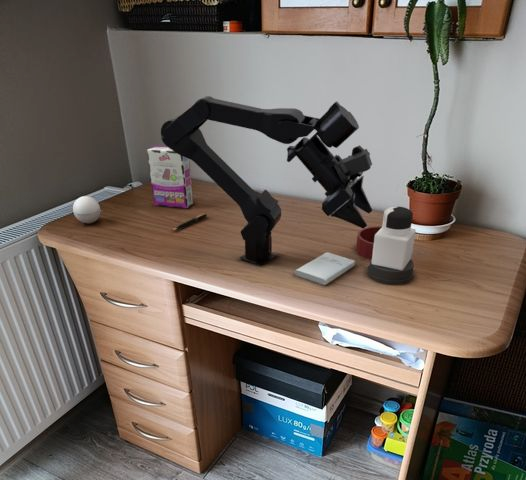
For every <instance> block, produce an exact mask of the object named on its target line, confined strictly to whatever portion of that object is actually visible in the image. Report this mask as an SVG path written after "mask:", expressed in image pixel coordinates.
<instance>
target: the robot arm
mask: <svg viewBox="0 0 526 480" xmlns="http://www.w3.org/2000/svg"><path fill="white" fill-rule="evenodd" d="M207 121H211V122H216V123H221V124H226V125H230V126H235V127H240V128H243V129H244V128H245V129H248V130H253V131H257V132H259V133H261V134H263V135H265V136H266V137H268V138H269V139H272V140H274V141H276V142H278V143H281V144H283V145H289V146H288V147H287V148H286V151H287V155H286V157H287V158H286V162H287V163H290V162H291V161H293V159H294V158H297V159H298V160H299V161H300V163H302V165H303V166H304V167H305V168H306V170H307V171H308V172H309V173H310V174H311V175H312V178H311V180H312V181H313V182H314V183H316V182H317V183H318V184H319V185H320V186H321V187H322V188H323V189H324V191H325V193H324V196H325V197H324V200H323V201H322V203H321V211H322V212H323V213H324V214H325V216H326V217H329V216H330V217H331V218H337V219H340V220H343V221H345V222H346V223H349V224H351V225H354V226H356V227H358V228H361V229H364V228H367V227H368V224H367V221H366V220H365V218H364V217H363V215H362V214H361V212H360V210H361V211H364V212H365V213H366V214H370V213H372V211H373V208H372V206H371V204H370V200H369V199H368V196H367V194H366V192H365V190H364V188H363V184H364V183H363V182H364V175H363V174H364V173H365V172H367V171H369V170H370V169H371V168H372V165H373V162H372V159H371V156H370V155H371V153H370V151H369V150H368V149H367V148H365V149H364V148H363V147H362V146H361V145H360V144H359V145H357V146H355V147H353V148H352V150H351V155H348V156H347V157H344V158H342V157H341V156H340V155H339V154H338V155H337V154H335V155H334V154H333V153H332V152H331V151H330V149H331V148H336V149H338V148H339V147H340V146H341V145H342V144H344V142H345V141H347V140H348V139H349V138H350V137H351V136H352V135H353V134H354V133H356V132H357V130H358V129H359V128H360V126H359V123H358V121H357V120H356V118H355V116H354V115H353V114H352V112H351V111H349V110H347V109H346V107H344V106H343V105H341V104H340V102H339V101H335V102H333V103H332V105H330V107H329V108H328V110H327V111H326V112H324V114H323V115H322V116H321V117H320V118H319V117H315V116H309V115H305V114H304V113H303V111H302V110H300V109H298V108H294V107H293V108H287V107H285V108H283V107H282V108H281V107H279V108H261V107H256V106H251V105H247V104H241V103H237V102H232V101H227V100H222V99H218V98H214V97H213V96H210V95H209V96H208V95H206V96H204V97H201V98H199V99H197V100H196V101H195V102H194V103H193V104H192V105H191V106H190V107H189V108H187V110H185V111H184V112H183V113H181V114H180V115H178V116H175V117H174V118H171V119H168V120H167V121H164V123H163V124H162V126H161V128H160V136H161V137H160V139H161V141H162V143H163V144H164V145H165V147H169V148H170V149H172V150H173V151H174V152H176V153H177V154H179V155H181V156H184V157H186V158H188V159H189V160H190V161H192V162H193V163H195V165H196V166H198V168H200V169H201V170H202V171H203V172H204V173H205V174H206V175H207V176H208V177H209V178H210V180H212V181H213V182H214V183H215V184H216V185H217V186H218V187H219V188H221V190H222V191H223V192H224V193H226V194H227V196H229V197H230V199H231V200H233V201H234V203H236V204H237V205H238V206H239V208H240V210H241V213H242V215H243V217H244V220H245V221H246V222H247V223H246V225H245V226H243V228H241V230H240V235H241V238H242V240H243V241H244V255H242V256H240V261H244V262H247V263H250V264H253V265H256V266H260V267H262V266H264V265H266V264H267V263H269V262H270V261H272V260H274V259H276V258H277V254H275V253H273V250H272V248H273V247H272V242H273V237H272V231H273V229H274V228H275V227H276V225H277V224H278V223H279V221H280V220H281V219H282V208H281V206H280V204H278V203H279V202H280V201H279V200H278V199H276V198H274V197H273V195H271V193H270V192H269V191H268V190H267V189H264V190H263V191H262V192H259V191H257V190H254V189H253V188H252V187H251V186H250V185H249V184H248V183H247V182H246V181H245V180H243V178H242V177H241V176H240V175H239V174H238V173H237V172H236V171H234V169H233V168H232V167H230V166H229V165H228V164H227V163H226V161H225V160H224V159H222V158H221V157H220V155H218V153H216V152H215V151H214V150H213V149H212V148H211V146H209V145H208V143H207V141H206V139H205V137H204V135H203V132H202V131H201V129H200V128H201V127H202V126H203V125H204V124H205V123H206V122H207ZM314 130H315V131H316V132H314V134H313V135H312V136H311V137H310V138H308V136H309V135H310V134H311V133H312V132H313V131H314ZM299 138H301V139H300V140H299V141H298V139H299ZM296 141H298V142H297V143H296V144H295V145H290V144H293V143H294V142H296ZM329 148H330V149H329ZM358 208H359V209H360V210H359V209H358Z"/></svg>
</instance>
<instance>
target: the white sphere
mask: <svg viewBox="0 0 526 480" xmlns="http://www.w3.org/2000/svg"><path fill="white" fill-rule="evenodd" d="M101 212H102V209H101V206H100V204H99V202H98V201H97V200H96V199H95V198H93V197H92V196H88V195H83V196H80V197H78V198H77V199H76V200H75V201H74V202H73V205H72V213H73V215H74V217H75V218H76V219H77V220H78V221H79V222H81V223H83V224H93V223H95V222H96V221H97V220H98V219H99V218H100V216H101Z"/></svg>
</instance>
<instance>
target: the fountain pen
mask: <svg viewBox="0 0 526 480" xmlns="http://www.w3.org/2000/svg"><path fill="white" fill-rule="evenodd" d="M207 215H208V214H207V213H202V214H199V215H197V216H195V217H193V218H191V219H189V220H187V221H185V222H183V223H181V224H179V225H177V226H175V228H173V229H172V231H175V230H176V231H178V230H180V229H182V228H185V227H188V226H190V225H192V224H194V223H197V222H199V221H201V220H203V219H204V218H206V217H207Z"/></svg>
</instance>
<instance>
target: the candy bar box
mask: <svg viewBox="0 0 526 480" xmlns="http://www.w3.org/2000/svg"><path fill="white" fill-rule="evenodd" d="M146 153H147V160H148V161H147V162H148V168H149V176H150V183H151V189H152V197H153V205H154V206H156V207H163V208H164V207H165V208H175V209H188V208H190V207H191V206H193V205H194V196H193V195H194V194H193V185H192V175H191V173H192V172H191V164H190V163H191V162H190V159H188V158H186V157H184V156H181V155H179V154H177V153H176V152H174V151H173V150H172V149H170V148H169V147H167V146H152V147H150V148H148V149H146Z"/></svg>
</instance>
